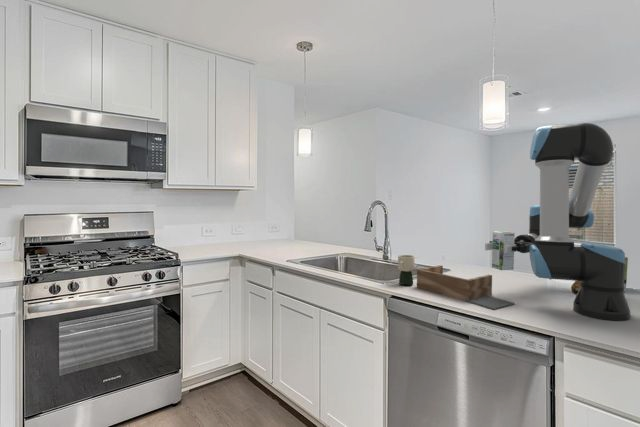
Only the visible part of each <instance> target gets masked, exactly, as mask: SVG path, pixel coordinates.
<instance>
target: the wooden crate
mask: <svg viewBox="0 0 640 427" xmlns="http://www.w3.org/2000/svg"><path fill="white" fill-rule="evenodd" d="M443 269H444V267H443V265H434V266H429V267H424V268H418V269H416V288H417V289H420V290H424V291H428V292H430V293H431V292H432V293H435V294H439V295H443V296H447V297H450V298H453V299H458V300H461V301H465V299H466V300H471V299H475V298H478V297H482V296H485V295H487V296H492V295H493V275H492V274H486V275H485V274H484V275H482V276H477V277H473V278H462V277H457V276H453V275H448V274H444V273H443ZM465 302H466V301H465Z"/></svg>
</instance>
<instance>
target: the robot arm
mask: <svg viewBox="0 0 640 427" xmlns="http://www.w3.org/2000/svg"><path fill="white" fill-rule="evenodd" d="M613 155H614V142H613V140H612V138H611V136H610V135H609V133H608V132H607V131H606V130H605V129H604V128H603V127H601V126H599V125H597V124H593V123H590V122H589V123H588V122H584V123H583V122H581V123H571V124H567V123H566V124H554V125H553V124H550V125H546V126H545V125H544V126H540V127H537V129H535V131H534V134H533V135H532V140H531V145H530V151H529V158H530V159H531V161H534V163H535V164H534V165H535V167H537V168H539V204H532V205H530V208H529V218H528V220H529V222H528V223H529V227H528V228H529V229H528V233H525V234H519V235H518V236H516V237H515V238H514V244H513V245H506V246H505V253H511V252H514V253H515V252H518V253H520V254H527V253H528V254H529V260H530V266H531V270H532V272H533V274H534V276H536V277H537V278H539V279H546V280H547V279H548V280H563V281H574V282H575V281H580V289H579V291H578V293H577V294H576V296H575V298H574V301H573V302H572V303H573V305H572V310H573V311H575V312H576V313H578V314H580V315H584V316H586V317H590V318H594V319H601V320H607V321H626V320H630V319H631V310H630V306H629V304H628V300H627V298H626V296H625V292H624V276H625V264H626V262H625V257H626V254H625V253H626V252H624V250H623V249H622V248H620V247H616V246H611V245H607V244H600V243H594V242H582V243H581V244H580V246H575V241H574V240H573V239H572V238H571V237H570V229H588V228H591V227H593V225H594V220H595V217H594V212H593V210H591V207H592V204H593V202H594V198H595V195H596V193H597V189H598V188H599V184H600V181H601V178H602V175H603V172H604V171H605V170H604V169H605V166H606V165H609V163H611V160H612V158H613ZM575 159H577V160H578V165H577V166H578V167H577V170H576V173H575V177H574V180H573V184H572V188H571V191H570V167H571V166H573V165H574V163H575ZM484 251H492V240H490V241H489V242H487V243H484Z"/></svg>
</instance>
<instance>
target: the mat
mask: <svg viewBox="0 0 640 427" xmlns="http://www.w3.org/2000/svg"><path fill="white" fill-rule="evenodd" d="M466 302H467V303H470V304H473V305H476V306H480V307H483V308H486V309H489V310H493V311H496V310H499V309H503V308H507V307H510V306H515V302H512V301H509V300H505V299H501V298H497V297H494V296H492V295H490V296H487V295H485V296H482V297H478V298H475V299H471V300H466V299H465V303H466Z"/></svg>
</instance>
